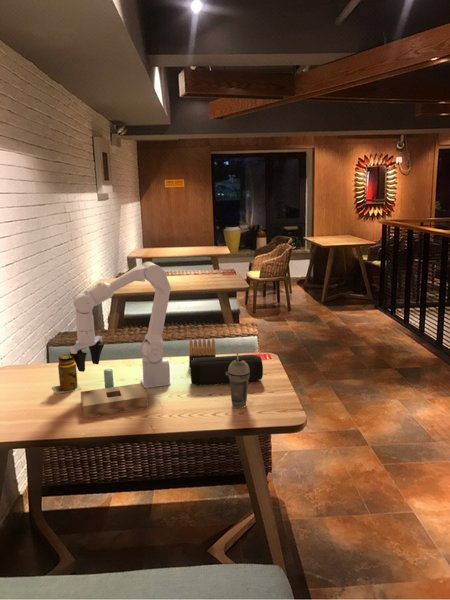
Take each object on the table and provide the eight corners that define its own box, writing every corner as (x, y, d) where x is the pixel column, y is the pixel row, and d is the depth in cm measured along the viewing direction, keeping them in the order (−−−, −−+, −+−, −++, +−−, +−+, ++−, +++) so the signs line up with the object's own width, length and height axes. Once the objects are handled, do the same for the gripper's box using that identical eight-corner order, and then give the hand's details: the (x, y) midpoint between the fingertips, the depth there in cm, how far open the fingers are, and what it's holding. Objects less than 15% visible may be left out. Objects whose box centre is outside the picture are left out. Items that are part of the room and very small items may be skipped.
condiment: (81, 389, 176) (78, 357, 174) (57, 394, 172) (54, 361, 169) (75, 382, 182) (72, 351, 179) (51, 387, 178) (48, 356, 175)
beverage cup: (234, 412, 156) (234, 351, 152) (223, 403, 163) (223, 345, 158) (254, 407, 160) (254, 348, 155) (243, 399, 166) (243, 342, 162)
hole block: (141, 394, 171) (140, 383, 170) (148, 407, 160) (147, 396, 159) (81, 403, 164) (80, 391, 164) (84, 418, 153) (83, 406, 153)
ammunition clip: (189, 367, 196) (188, 338, 193) (189, 366, 198) (188, 337, 195) (216, 367, 196) (215, 338, 194) (216, 365, 198) (215, 337, 195)
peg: (113, 389, 175) (112, 368, 173) (114, 392, 172) (113, 371, 171) (104, 391, 174) (103, 369, 172) (105, 394, 171) (104, 372, 170)
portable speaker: (192, 390, 174) (191, 363, 172) (190, 380, 184) (189, 354, 182) (263, 385, 178) (263, 359, 175) (257, 375, 187) (257, 350, 185)
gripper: (89, 322, 175) (92, 359, 178) (61, 334, 162) (65, 373, 165) (106, 324, 172) (108, 361, 175) (78, 336, 159) (82, 375, 162)
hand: (88, 367), depth 170 cm, fingers open, 7 cm apart
